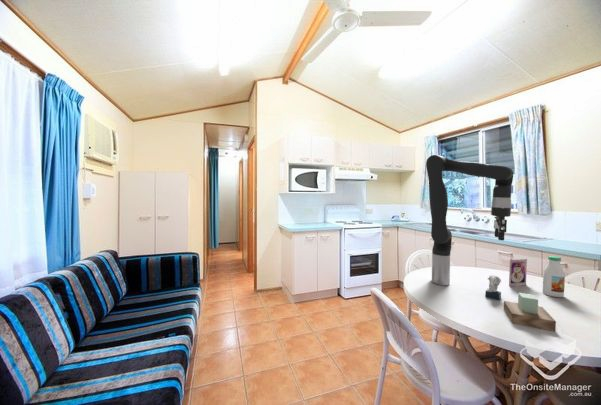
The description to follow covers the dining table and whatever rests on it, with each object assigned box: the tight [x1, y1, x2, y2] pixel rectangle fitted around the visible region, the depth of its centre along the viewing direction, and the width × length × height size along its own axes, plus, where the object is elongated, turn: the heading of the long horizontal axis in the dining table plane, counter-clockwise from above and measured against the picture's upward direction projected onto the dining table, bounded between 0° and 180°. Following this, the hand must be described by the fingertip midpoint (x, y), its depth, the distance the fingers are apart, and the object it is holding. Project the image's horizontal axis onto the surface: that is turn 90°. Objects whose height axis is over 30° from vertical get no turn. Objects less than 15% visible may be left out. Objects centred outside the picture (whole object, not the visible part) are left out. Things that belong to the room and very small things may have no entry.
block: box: [517, 292, 539, 314], centre depth 102 cm, size 5×5×6 cm
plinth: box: [503, 300, 557, 332], centre depth 102 cm, size 13×13×4 cm
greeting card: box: [508, 256, 528, 287], centre depth 141 cm, size 11×7×15 cm, turn 99°
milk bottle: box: [542, 255, 566, 298], centre depth 125 cm, size 8×8×20 cm
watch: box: [484, 274, 502, 301], centre depth 123 cm, size 6×8×11 cm
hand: (499, 238), depth 122 cm, fingers open, 8 cm apart
